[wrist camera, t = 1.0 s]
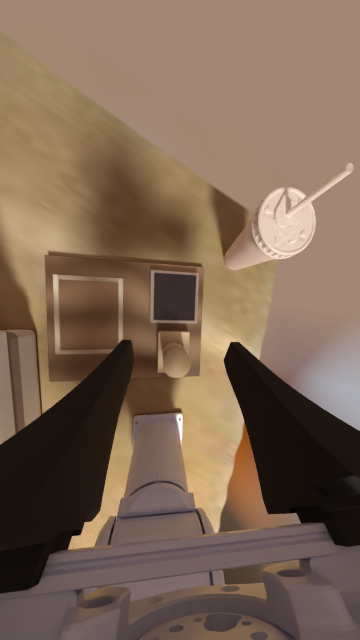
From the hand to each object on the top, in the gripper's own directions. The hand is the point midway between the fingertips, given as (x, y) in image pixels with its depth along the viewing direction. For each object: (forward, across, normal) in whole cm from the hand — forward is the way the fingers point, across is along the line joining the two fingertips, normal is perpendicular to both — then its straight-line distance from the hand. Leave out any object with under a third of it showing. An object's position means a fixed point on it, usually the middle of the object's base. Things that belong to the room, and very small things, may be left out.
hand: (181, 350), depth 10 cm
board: (+11, +7, +5) cm, 14 cm away
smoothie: (+17, -10, -4) cm, 20 cm away
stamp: (+8, 0, +8) cm, 12 cm away
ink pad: (+12, 0, +2) cm, 12 cm away
